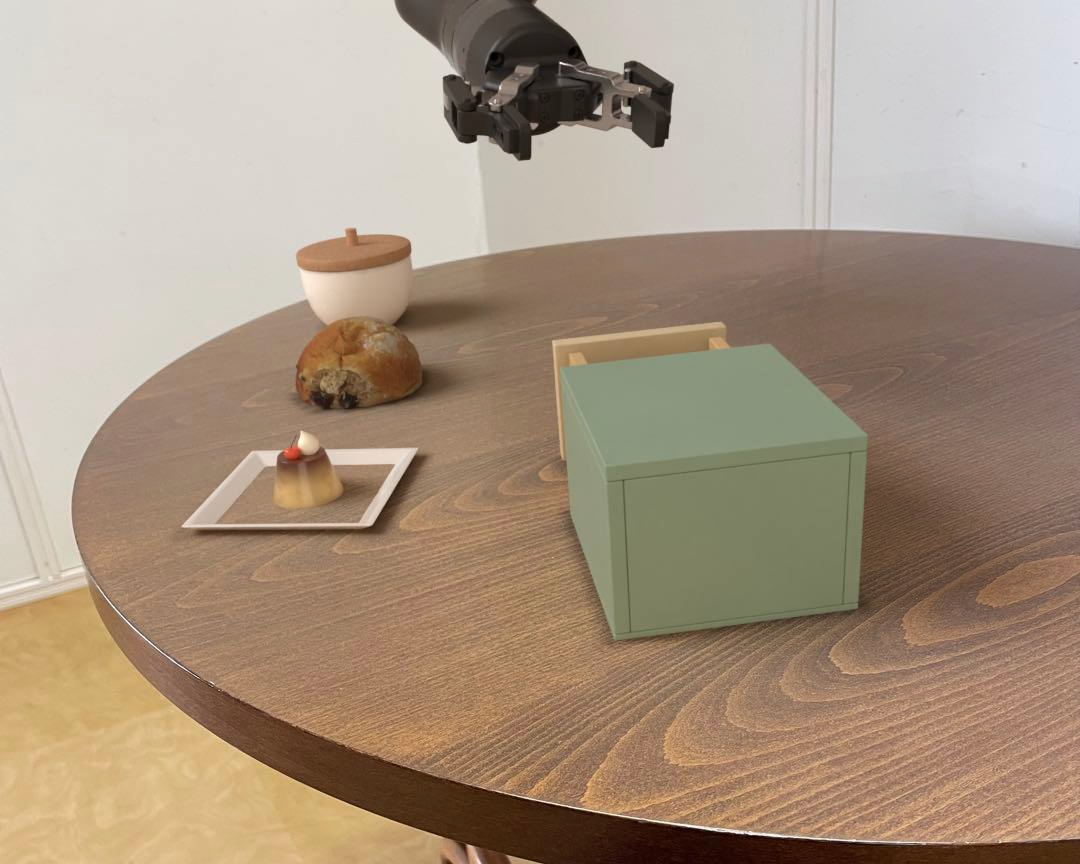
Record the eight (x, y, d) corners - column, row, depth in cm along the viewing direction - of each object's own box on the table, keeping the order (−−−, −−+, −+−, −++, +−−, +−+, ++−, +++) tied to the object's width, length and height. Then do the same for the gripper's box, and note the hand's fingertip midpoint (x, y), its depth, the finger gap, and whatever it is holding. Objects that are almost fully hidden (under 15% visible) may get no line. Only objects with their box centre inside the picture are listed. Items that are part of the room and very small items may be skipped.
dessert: (184, 543, 69) (166, 471, 66) (255, 465, 79) (241, 400, 77) (374, 542, 67) (362, 467, 65) (420, 462, 77) (412, 396, 75)
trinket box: (415, 339, 104) (402, 236, 100) (300, 348, 104) (281, 246, 100) (425, 308, 113) (413, 213, 109) (319, 316, 114) (303, 222, 110)
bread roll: (437, 436, 91) (459, 338, 90) (334, 419, 84) (357, 313, 83) (364, 411, 98) (384, 320, 97) (263, 394, 90) (283, 295, 89)
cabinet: (570, 520, 67) (559, 366, 63) (768, 496, 68) (770, 342, 64) (615, 649, 54) (604, 466, 50) (858, 617, 55) (868, 434, 51)
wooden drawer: (551, 432, 78) (543, 322, 75) (706, 414, 79) (704, 304, 75) (594, 545, 62) (586, 412, 59) (786, 521, 63) (789, 389, 60)
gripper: (414, 11, 75) (478, 81, 63) (613, -1, 79) (710, 63, 67) (419, 125, 80) (480, 211, 68) (607, 109, 84) (697, 187, 71)
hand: (594, 137), depth 67 cm, fingers open, 8 cm apart
